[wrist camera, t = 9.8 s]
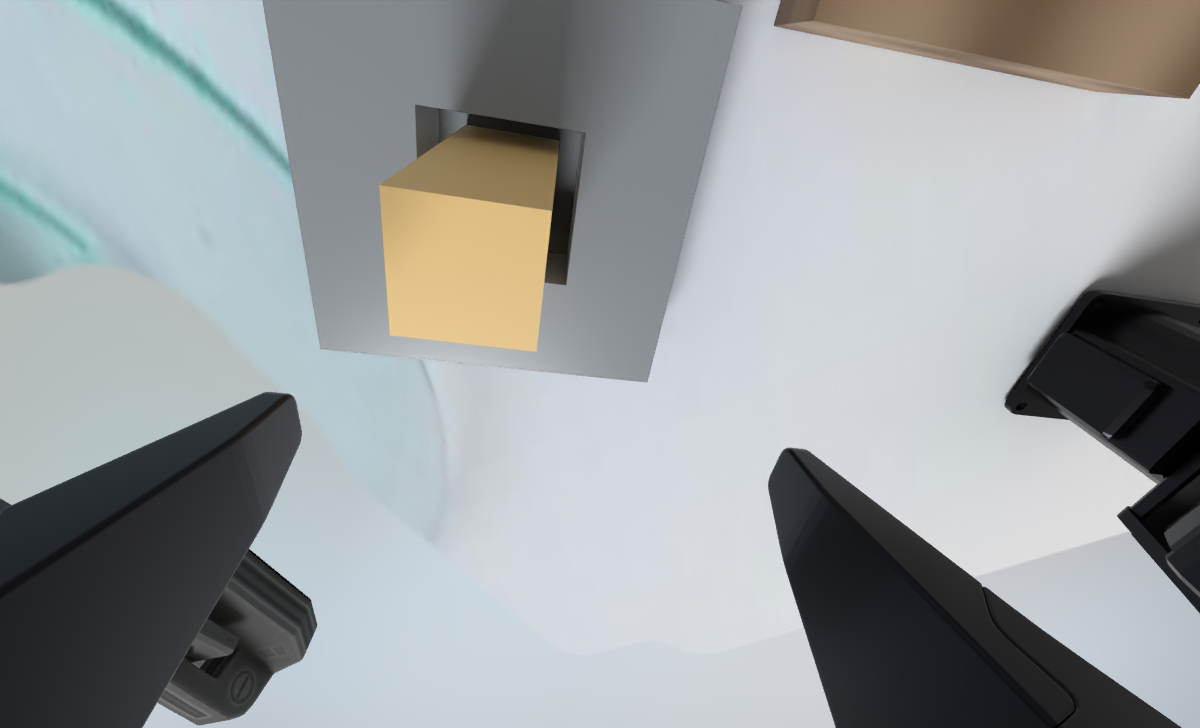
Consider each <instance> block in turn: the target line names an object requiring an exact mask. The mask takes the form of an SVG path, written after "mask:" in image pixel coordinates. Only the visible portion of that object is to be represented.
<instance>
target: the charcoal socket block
mask: <svg viewBox="0 0 1200 728" xmlns="http://www.w3.org/2000/svg"><path fill="white" fill-rule="evenodd" d="M262 1H263V7H264V13H265V19H266V25H267V31H268V37H269V43H270V49H271V55H272V61H273V67H274V73H275V79H276V85H277V91H278V97H279V103H280V109H281V115H282V121H283V127H284V133H285V139H286V145H287V151H288V157H289V163H290V169H291V175H292V181H293V187H294V193H295V199H296V205H297V211H298V217H299V223H300V229H301V235H302V241H303V247H304V253H305V259H306V265H307V271H308V277H309V283H310V289H311V295H312V301H313V307H314V313H315V319H316V325H317V331H318V337H319V343H320V349H325V350H335V351H345V352H355V353H364V354H374V355H384V356H394V357H404V358H413V359H423V360H433V361H443V362H453V363H462V364H472V365H482V366H492V367H502V368H511V369H521V370H531V371H541V372H551V373H561V374H570V375H580V376H590V377H600V378H610V379H619V380H629V381H639V382H647V381H648V377H649V373H650V370H651V366H652V362H653V358H654V354H655V350H656V346H657V342H658V338H659V334H660V330H661V326H662V322H663V318H664V314H665V310H666V306H667V302H668V298H669V294H670V290H671V286H672V282H673V278H674V274H675V270H676V266H677V262H678V258H679V254H680V250H681V247H682V243H683V239H684V235H685V231H686V227H687V223H688V219H689V215H690V211H691V207H692V203H693V199H694V195H695V191H696V187H697V183H698V179H699V175H700V171H701V167H702V163H703V159H704V155H705V151H706V147H707V143H708V139H709V135H710V131H711V127H712V124H713V120H714V116H715V112H716V108H717V104H718V100H719V96H720V92H721V88H722V84H723V80H724V76H725V72H726V68H727V64H728V60H729V56H730V52H731V48H732V44H733V40H734V36H735V32H736V28H737V24H738V20H739V16H740V12H741V8H742V6H741V5H736V4H731V3H726V2H722V1H717V0H262ZM439 108H440V109H446V110H452V111H458V112H464V113H470V114H476V115H482V116H488V117H494V118H500V119H506V120H512V121H518V122H524V123H530V124H536V125H542V126H548V127H554V128H560V129H566V130H572V131H578V132H582V137H581V145H580V153H579V161H578V169H577V177H576V185H575V193H574V201H573V209H572V217H571V225H570V232H569V240H568V248H567V255H564V254H556V253H549V252H548V254H547V262H546V271H545V280H544V289H543V298H542V307H541V316H540V325H539V334H538V343H537V352H533V351H524V350H515V349H506V348H498V347H489V346H480V345H471V344H462V343H453V342H444V341H435V340H426V339H417V338H409V337H400V336H391V335H390V330H389V316H388V302H387V288H386V274H385V260H384V246H383V232H382V218H381V204H380V190H379V185H380V184H381V183H383V182H384V181H386V180H387V179H389V178H390V177H391V176H393V175H394V174H396V173H397V172H399V171H400V170H402V169H403V168H404V167H406V166H407V165H409V164H410V163H412V162H413V161H415V160H416V159H417V158H419V157H420V156H422V155H423V154H425V153H426V152H428V151H429V150H430V149H432V148H433V147H435V146H436V145H438V144H439V143H440V124H439Z"/></svg>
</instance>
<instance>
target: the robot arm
mask: <svg viewBox="0 0 1200 728" xmlns="http://www.w3.org/2000/svg"><path fill="white" fill-rule="evenodd" d="M1005 407H1006V408H1007V409H1008V410H1009V411H1010V412H1011V413H1013V414H1018V415H1027V416H1037V417H1047V418H1056V419H1066V420H1070V421H1072V422H1073V423H1075V424H1076V425H1077V426H1079V427H1080V428H1081V429H1083V430H1084V431H1085V432H1087V433H1088V434H1090V435H1091V436H1092V437H1094V438H1095V439H1096V440H1098V441H1099V442H1100V443H1102V444H1103V445H1105V446H1106V447H1107V448H1109V449H1110V450H1111V451H1113V452H1114V453H1115V454H1117V455H1118V456H1120V457H1121V458H1122V459H1124V460H1125V461H1126V462H1128V463H1129V464H1130V465H1132V466H1133V467H1135V468H1136V469H1137V470H1139V471H1140V472H1141V473H1143V474H1144V475H1145V476H1147V477H1148V478H1150V479H1151V480H1152V481H1154V482H1155V483H1156V484H1157V485H1156V486H1155V487H1154V488H1153V489H1151V490H1150V491H1149V492H1148V493H1147V494H1146V495H1144V496H1143V497H1142V498H1141V499H1140V500H1139V501H1137V502H1136V503H1135V504H1134V505H1133V506H1132V507H1129V506H1127V507H1126V508H1125V509H1124V510H1122V511H1121V512H1120V513H1119V514H1118V515H1117V517H1118V518H1119V519H1120V520H1121V521H1122V523H1123V524H1124V525H1125V526H1126V527H1127V528H1128V530H1129V531H1130V532H1131V534H1132V536H1133V537H1134V538H1135V539H1136V540H1137V541H1138V543H1139V544H1140V545H1141V546H1142V547H1143V548H1144V550H1145V551H1146V552H1147V553H1148V554H1149V555H1150V556H1151V558H1152V559H1153V560H1154V561H1155V562H1156V563H1157V565H1158V566H1159V567H1160V568H1161V569H1162V570H1163V571H1164V572H1165V574H1166V575H1167V576H1168V577H1169V578H1170V579H1171V581H1172V582H1173V583H1174V584H1175V585H1176V586H1177V587H1178V589H1179V590H1180V591H1181V592H1182V593H1183V594H1184V595H1185V597H1186V598H1187V599H1188V600H1189V601H1190V602H1191V604H1192V605H1193V606H1194V607H1195V608H1196V609H1197V611H1198V612H1199V613H1200V305H1198V304H1191V303H1184V302H1177V301H1170V300H1163V299H1156V298H1149V297H1142V296H1135V295H1128V294H1122V293H1115V292H1108V291H1101V290H1094V291H1091V292H1089V293H1087V294H1086V295H1084V296H1083V297H1082V299H1081V300H1080V301H1079V302H1078V304H1077V305H1076V306H1075V308H1074V309H1073V311H1072V312H1071V313H1070V315H1069V316H1068V317H1067V319H1066V320H1065V321H1064V323H1063V324H1062V325H1061V327H1060V328H1059V330H1058V331H1057V332H1056V334H1055V335H1054V336H1053V338H1052V339H1051V340H1050V342H1049V343H1048V344H1047V346H1046V347H1045V349H1044V350H1043V351H1042V353H1041V354H1040V355H1039V357H1038V358H1037V359H1036V361H1035V362H1034V363H1033V365H1032V366H1031V368H1030V369H1029V370H1028V372H1027V373H1026V374H1025V376H1024V377H1023V378H1022V380H1021V381H1020V382H1019V384H1018V385H1017V387H1016V388H1015V389H1014V391H1013V392H1012V393H1011V395H1010V396H1009V397H1008V399H1007V400H1006V402H1005ZM301 436H302V430H301V425H300V420H299V414H298V409H297V404H296V401H295V398H294V397H293V396H292V395H290V394H284V393H275V392H265V393H262V394H260V395H258V396H255V397H253V398H251V399H249V400H247V401H244V402H242V403H240V404H238V405H235V406H233V407H231V408H229V409H226V410H224V411H222V412H220V413H218V414H215V415H213V416H211V417H209V418H206V419H204V420H202V421H200V422H197V423H195V424H193V425H191V426H188V427H186V428H184V429H182V430H179V431H177V432H175V433H173V434H170V435H168V436H166V437H164V438H162V439H159V440H157V441H155V442H152V443H150V444H148V445H146V446H144V447H142V448H139V449H137V450H135V451H132V452H130V453H128V454H126V455H123V456H121V457H119V458H117V459H114V460H112V461H110V462H108V463H105V464H103V465H101V466H99V467H96V468H94V469H92V470H90V471H88V472H85V473H83V474H81V475H79V476H76V477H74V478H72V479H70V480H67V481H65V482H63V483H61V484H58V485H56V486H54V487H52V488H50V489H47V490H45V491H43V492H40V493H38V494H36V495H34V496H32V497H29V498H27V499H25V500H23V501H20V502H18V503H16V504H14V505H11V506H9V507H7V508H5V509H3V510H1V512H0V728H142V727H143V726H144V724H145V722H146V721H147V719H148V717H149V715H150V714H151V712H152V710H153V709H154V707H155V705H156V703H157V702H158V700H159V699H160V697H161V695H162V694H163V692H164V690H165V689H166V687H167V685H168V684H169V682H170V680H171V679H172V677H173V675H174V674H175V672H176V670H177V668H178V667H179V665H180V663H181V662H182V660H183V658H184V657H185V655H186V653H187V652H188V650H189V648H190V647H191V645H192V643H193V642H194V640H195V638H196V637H197V635H198V633H199V632H200V630H201V628H202V626H203V625H204V623H205V621H206V620H207V618H208V616H209V615H210V613H211V611H212V610H213V608H214V606H215V605H216V603H217V601H218V600H219V598H220V596H221V595H222V593H223V591H224V590H225V588H226V586H227V584H228V583H229V581H230V579H231V578H232V576H233V574H234V573H235V571H236V569H237V568H238V566H239V564H240V563H241V561H242V559H243V558H244V556H245V554H246V553H247V551H248V549H249V547H250V546H251V544H252V542H253V541H254V539H255V537H256V536H257V534H258V532H259V530H260V529H261V527H262V525H263V523H264V521H265V520H266V517H267V515H268V513H269V511H270V509H271V507H272V505H273V503H274V500H275V498H276V496H277V494H278V491H279V489H280V487H281V485H282V482H283V480H284V478H285V476H286V473H287V471H288V469H289V467H290V465H291V462H292V460H293V458H294V456H295V454H296V451H297V449H298V447H299V445H300V442H301ZM768 489H769V495H770V500H771V504H772V509H773V514H774V519H775V524H776V529H777V534H778V539H779V544H780V549H781V553H782V557H783V561H784V565H785V568H786V572H787V575H788V578H789V581H790V585H791V588H792V591H793V594H794V597H795V600H796V604H797V607H798V610H799V613H800V616H801V619H802V622H803V626H804V629H805V632H806V635H807V638H808V641H809V645H810V648H811V651H812V654H813V657H814V660H815V664H816V667H817V670H818V673H819V676H820V679H821V682H822V686H823V689H824V692H825V695H826V698H827V701H828V705H829V707H830V711H831V714H832V717H833V720H834V723H835V726H836V728H1181V727H1180V726H1178V725H1177V724H1175V723H1174V722H1173V721H1171V720H1170V719H1168V718H1167V717H1166V716H1164V715H1163V714H1161V713H1160V712H1158V711H1157V710H1156V709H1154V708H1153V707H1151V706H1150V705H1148V704H1147V703H1145V702H1144V701H1143V700H1141V699H1140V698H1138V697H1137V696H1135V695H1134V694H1132V693H1131V692H1130V691H1128V690H1127V689H1125V688H1124V687H1123V686H1121V685H1120V684H1118V683H1117V682H1115V681H1114V680H1113V679H1111V678H1110V677H1108V676H1107V675H1105V674H1104V673H1103V672H1101V671H1100V670H1098V669H1097V668H1095V667H1094V666H1093V665H1091V664H1090V663H1088V662H1087V661H1085V660H1084V659H1083V658H1081V657H1080V656H1078V655H1077V654H1076V653H1074V652H1073V651H1071V650H1070V649H1068V648H1067V647H1066V646H1064V645H1063V644H1061V643H1060V642H1059V641H1057V640H1056V639H1054V638H1053V637H1052V636H1050V635H1049V634H1047V633H1046V632H1045V631H1043V630H1042V629H1041V628H1039V627H1038V626H1037V625H1035V624H1034V623H1033V622H1031V621H1030V620H1028V619H1027V618H1026V617H1025V616H1023V615H1022V614H1021V613H1019V612H1018V611H1017V610H1015V609H1014V608H1012V607H1011V606H1010V605H1008V604H1007V603H1006V602H1005V601H1003V600H1002V599H1001V598H999V597H998V596H997V595H995V594H994V593H993V592H992V591H990V590H989V589H988V588H986V587H982V585H981V583H980V582H979V581H977V580H976V579H975V578H973V577H972V576H971V575H969V574H968V573H967V572H966V571H964V570H963V569H962V568H960V567H959V566H958V565H956V564H955V563H954V562H952V561H951V560H950V559H949V558H947V557H946V556H945V555H943V554H942V553H941V552H939V551H938V550H937V549H936V548H934V547H933V546H932V545H930V544H929V543H928V542H926V541H925V540H924V539H923V538H921V537H920V536H919V535H917V534H916V533H915V532H913V531H912V530H911V529H910V528H908V527H907V526H906V525H904V524H903V523H902V522H900V521H899V520H898V519H896V518H895V517H894V516H893V515H891V514H890V513H889V512H887V511H886V510H885V509H883V508H882V507H881V506H880V505H878V504H877V503H876V502H874V501H873V500H872V499H870V498H869V497H868V496H867V495H865V494H864V493H863V492H861V491H860V490H859V489H857V488H856V487H855V486H854V485H852V484H851V483H850V482H848V481H847V480H846V479H844V478H843V477H842V476H840V475H839V474H838V473H837V472H835V471H834V470H833V469H831V468H830V467H829V466H827V465H826V464H825V463H824V462H822V461H821V460H820V459H818V458H817V457H816V456H814V455H813V454H812V453H811V452H809V451H808V450H805V449H798V448H786V449H784V450H783V451H782V453H781V454H780V456H779V459H778V461H777V463H776V465H775V467H774V469H773V471H772V473H771V475H770V478H769V482H768Z"/></svg>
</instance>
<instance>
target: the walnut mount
mask: <svg viewBox="0 0 1200 728" xmlns="http://www.w3.org/2000/svg"><path fill="white" fill-rule="evenodd" d="M774 26H777V27H782V28H787V29H791V30H796V31H801V32H806V33H811V34H816V35H821V36H826V37H831V38H836V39H840V40H845V41H850V42H855V43H860V44H865V45H870V46H875V47H880V48H885V49H889V50H894V51H899V52H904V53H909V54H914V55H919V56H924V57H929V58H934V59H938V60H943V61H948V62H953V63H958V64H963V65H968V66H973V67H978V68H983V69H987V70H992V71H997V72H1002V73H1007V74H1012V75H1017V76H1022V77H1027V78H1032V79H1036V80H1041V81H1046V82H1051V83H1056V84H1061V85H1066V86H1071V87H1076V88H1080V89H1085V90H1090V91H1095V92H1105V93H1118V94H1132V95H1146V96H1159V97H1173V98H1187V99H1189V98H1190V97H1191V95H1192V94H1193V92H1194V91H1195V89H1196V88H1197V87H1198V85H1199V84H1200V0H781V3H780V6H779V10H778V13H777V17H776V20H775V24H774Z"/></svg>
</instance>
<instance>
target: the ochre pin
mask: <svg viewBox="0 0 1200 728" xmlns="http://www.w3.org/2000/svg"><path fill="white" fill-rule="evenodd" d="M559 146H560V140H554V139H548V138H542V137H536V136H530V135H524V134H518V133H512V132H506V131H501V130H495V129H489V128H483V127H477V126H471V125H465V126H464V127H462V128H461V129H459V130H458V131H456V132H455V133H453V134H452V135H451V136H449V137H448V138H446V139H445V140H443V141H442V142H441V143H439V144H438V145H436V146H435V147H433V148H432V149H430V150H429V151H428V152H426V153H425V154H423V155H422V156H420V157H419V158H417V159H416V160H415V161H413V162H412V163H410V164H409V165H407V166H406V167H404V168H403V169H402V170H400V171H399V172H397V173H396V174H394V175H393V176H391V177H390V178H389V179H387V180H386V181H384V182H383V183H381V184H380V185H379V190H380V204H381V218H382V232H383V246H384V260H385V274H386V288H387V302H388V316H389V330H390V335H391V336H400V337H409V338H417V339H426V340H435V341H444V342H453V343H462V344H471V345H480V346H489V347H498V348H506V349H515V350H524V351H533V352H537V343H538V334H539V325H540V316H541V307H542V298H543V289H544V280H545V271H546V262H547V254H548V245H549V236H550V227H551V218H552V209H553V200H554V191H555V182H556V173H557V164H558V155H559Z"/></svg>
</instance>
